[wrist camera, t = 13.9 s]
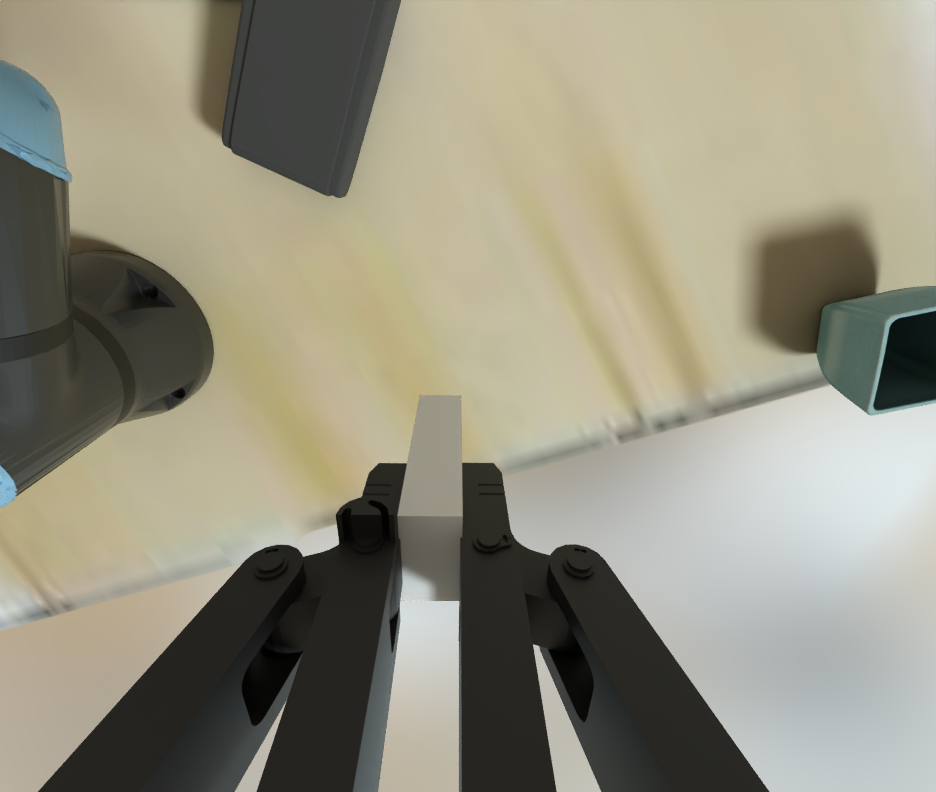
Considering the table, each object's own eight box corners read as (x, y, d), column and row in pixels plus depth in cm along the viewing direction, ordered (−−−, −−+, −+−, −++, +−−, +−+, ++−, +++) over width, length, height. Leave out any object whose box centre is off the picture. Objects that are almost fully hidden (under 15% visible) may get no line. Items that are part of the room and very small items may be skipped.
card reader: (279, -92, 29) (238, 147, 36) (253, -126, 26) (213, 146, 32) (410, -17, 31) (348, 198, 37) (402, -40, 27) (335, 202, 34)
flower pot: (884, 358, 44) (980, 396, 36) (793, 376, 45) (867, 417, 37) (901, 270, 41) (1012, 290, 33) (802, 291, 41) (887, 316, 33)
